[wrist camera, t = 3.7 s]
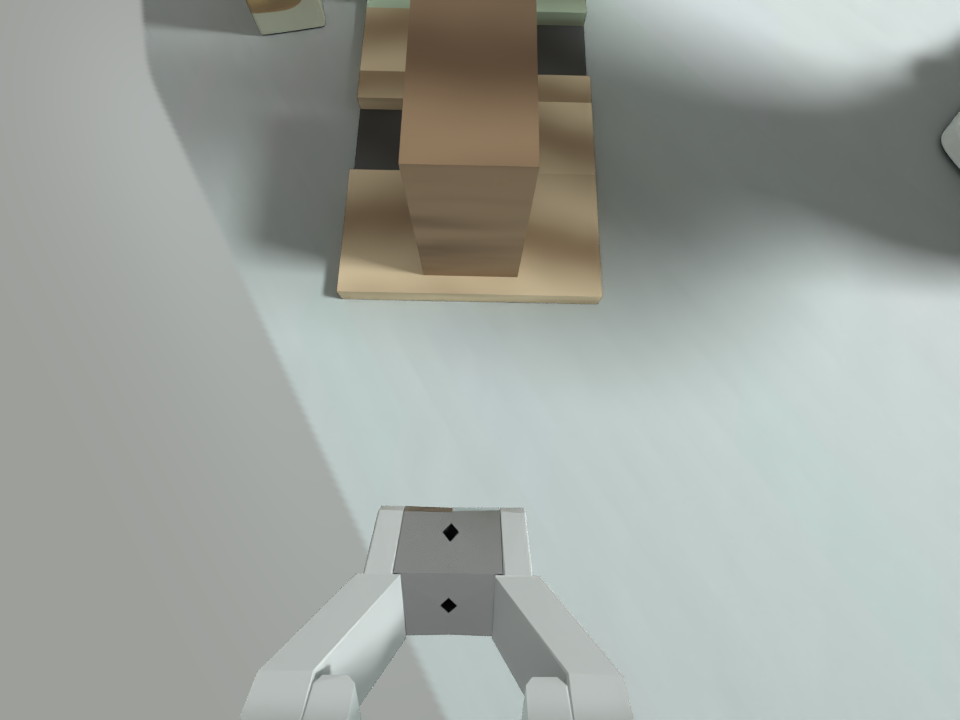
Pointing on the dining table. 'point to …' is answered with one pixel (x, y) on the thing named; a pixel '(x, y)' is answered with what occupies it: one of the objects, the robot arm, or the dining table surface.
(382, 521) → the robot arm
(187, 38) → the dining table surface
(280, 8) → the skincare box
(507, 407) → the dining table surface
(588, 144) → the wooden slotted tray
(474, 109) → the walnut block
